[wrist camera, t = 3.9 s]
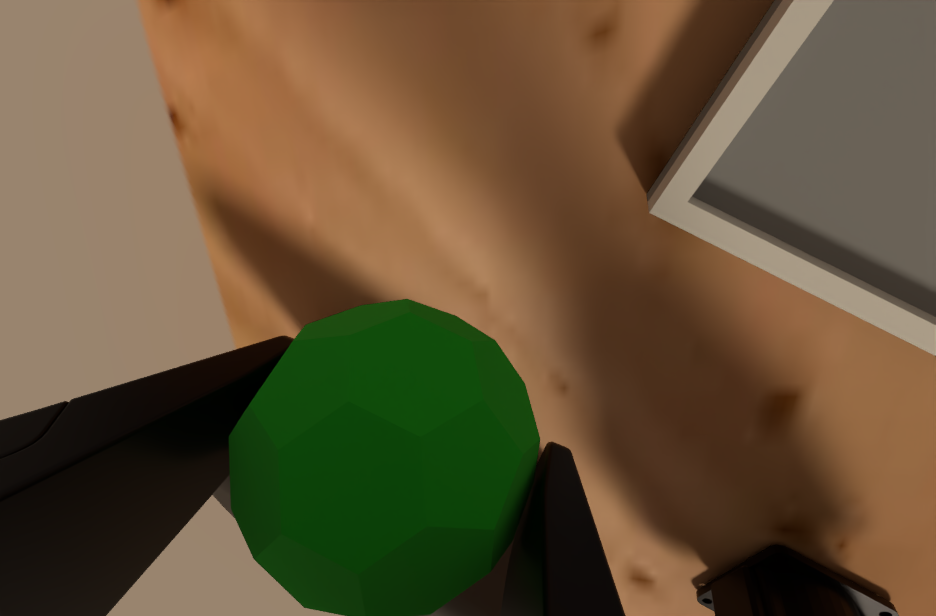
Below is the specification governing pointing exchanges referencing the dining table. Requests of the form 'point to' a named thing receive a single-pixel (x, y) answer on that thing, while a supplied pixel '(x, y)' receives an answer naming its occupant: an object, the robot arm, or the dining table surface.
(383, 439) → the polyhedron
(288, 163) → the dining table surface
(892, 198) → the tray
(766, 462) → the dining table surface
